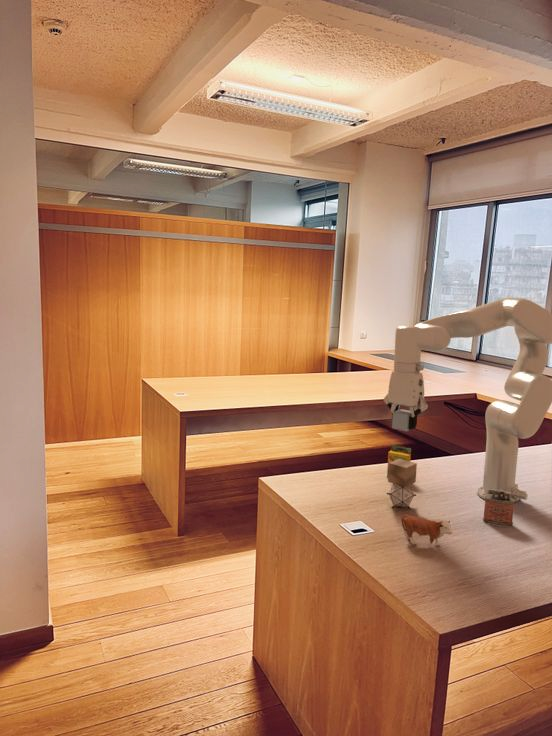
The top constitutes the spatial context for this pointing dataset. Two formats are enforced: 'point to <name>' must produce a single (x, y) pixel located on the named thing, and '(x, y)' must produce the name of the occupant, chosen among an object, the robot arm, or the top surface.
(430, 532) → the bull figurine
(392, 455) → the crayon box
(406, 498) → the game die
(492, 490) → the lighter
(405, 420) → the slate block
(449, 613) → the top surface
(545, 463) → the top surface
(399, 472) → the walnut block
